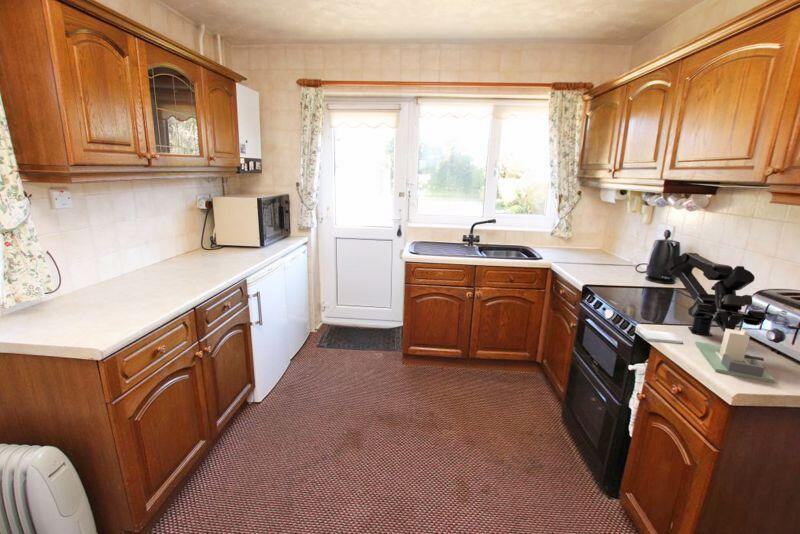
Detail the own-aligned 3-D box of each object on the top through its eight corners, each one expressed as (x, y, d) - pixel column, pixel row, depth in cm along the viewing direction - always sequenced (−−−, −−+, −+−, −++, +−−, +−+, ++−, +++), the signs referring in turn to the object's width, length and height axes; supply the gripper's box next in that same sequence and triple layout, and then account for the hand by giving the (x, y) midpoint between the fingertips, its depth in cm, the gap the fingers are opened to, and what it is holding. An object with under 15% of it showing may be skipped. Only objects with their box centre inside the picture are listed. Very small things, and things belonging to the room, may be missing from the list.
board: (694, 343, 137) (695, 340, 136) (744, 352, 131) (745, 348, 131) (715, 371, 117) (716, 367, 117) (774, 382, 112) (775, 378, 111)
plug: (719, 353, 127) (726, 325, 125) (759, 360, 123) (767, 331, 121) (723, 358, 124) (730, 329, 121) (764, 365, 120) (773, 336, 117)
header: (721, 362, 121) (723, 353, 120) (753, 368, 118) (755, 359, 117) (728, 370, 116) (730, 361, 115) (761, 377, 113) (764, 368, 112)
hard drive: (645, 337, 138) (683, 341, 136) (636, 329, 146) (671, 331, 144) (645, 342, 139) (682, 345, 137) (635, 332, 146) (670, 335, 145)
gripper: (701, 280, 132) (704, 321, 124) (771, 288, 124) (778, 332, 117) (690, 296, 141) (692, 334, 133) (754, 304, 133) (760, 345, 126)
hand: (729, 336), depth 127 cm, fingers closed
